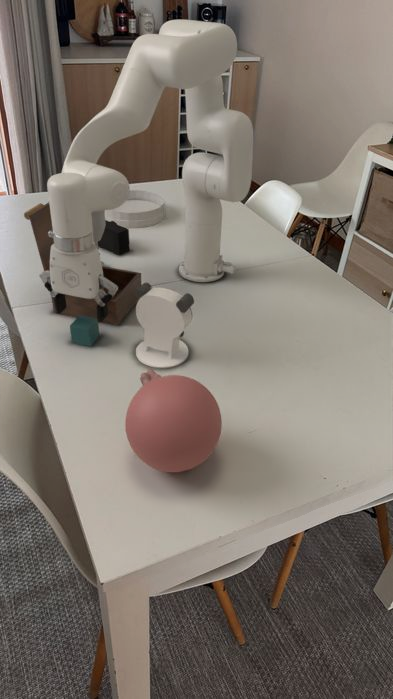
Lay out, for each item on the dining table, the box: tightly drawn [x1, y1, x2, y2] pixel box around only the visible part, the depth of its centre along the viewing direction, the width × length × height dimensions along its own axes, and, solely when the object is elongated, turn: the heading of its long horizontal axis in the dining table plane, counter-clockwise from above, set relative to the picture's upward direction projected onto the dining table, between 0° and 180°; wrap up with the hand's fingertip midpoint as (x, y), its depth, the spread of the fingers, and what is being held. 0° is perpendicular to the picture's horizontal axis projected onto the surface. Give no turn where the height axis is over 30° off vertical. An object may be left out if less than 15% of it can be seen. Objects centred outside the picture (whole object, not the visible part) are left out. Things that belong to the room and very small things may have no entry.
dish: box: [105, 189, 166, 229], centre depth 172 cm, size 22×22×5 cm
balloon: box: [124, 368, 223, 473], centre depth 83 cm, size 15×20×15 cm
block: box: [69, 315, 100, 347], centre depth 112 cm, size 4×4×4 cm
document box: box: [50, 266, 143, 326], centre depth 124 cm, size 17×15×6 cm
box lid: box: [23, 201, 55, 280], centre depth 119 cm, size 17×15×5 cm
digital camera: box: [98, 220, 131, 256], centre depth 150 cm, size 10×5×7 cm, turn 50°
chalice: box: [91, 210, 107, 267], centre depth 134 cm, size 7×7×18 cm
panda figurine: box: [135, 282, 195, 369], centre depth 105 cm, size 12×11×15 cm
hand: (81, 314), depth 109 cm, fingers open, 9 cm apart
